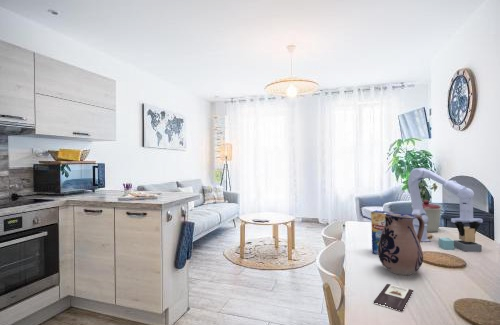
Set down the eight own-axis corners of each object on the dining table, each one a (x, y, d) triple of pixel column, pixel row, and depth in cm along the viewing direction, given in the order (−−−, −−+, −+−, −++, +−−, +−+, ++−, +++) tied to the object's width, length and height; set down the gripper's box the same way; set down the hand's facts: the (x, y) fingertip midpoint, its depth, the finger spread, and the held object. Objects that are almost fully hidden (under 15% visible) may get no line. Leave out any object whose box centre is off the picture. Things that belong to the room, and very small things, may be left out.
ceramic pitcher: (369, 267, 126) (368, 213, 126) (403, 260, 133) (401, 209, 133) (402, 282, 109) (401, 220, 109) (439, 274, 117) (437, 215, 117)
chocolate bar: (373, 301, 94) (387, 283, 108) (373, 304, 94) (387, 285, 108) (402, 310, 88) (413, 290, 102) (402, 313, 88) (413, 292, 102)
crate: (463, 251, 144) (463, 244, 144) (453, 246, 153) (453, 240, 153) (481, 251, 143) (481, 245, 143) (470, 246, 152) (470, 240, 152)
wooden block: (464, 241, 146) (464, 228, 146) (459, 239, 151) (458, 226, 151) (475, 241, 145) (474, 228, 145) (468, 239, 150) (468, 226, 150)
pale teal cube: (444, 249, 148) (443, 240, 148) (438, 246, 153) (438, 238, 153) (454, 249, 147) (453, 240, 147) (448, 247, 152) (448, 238, 152)
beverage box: (394, 258, 137) (393, 214, 137) (372, 253, 145) (371, 212, 145) (398, 254, 142) (397, 212, 142) (376, 250, 149) (375, 210, 149)
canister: (448, 234, 178) (447, 201, 178) (418, 233, 181) (417, 201, 181) (434, 227, 196) (434, 198, 196) (407, 227, 199) (406, 198, 199)
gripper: (456, 211, 145) (457, 237, 145) (486, 211, 143) (487, 237, 143) (448, 209, 152) (449, 234, 152) (477, 209, 150) (477, 234, 150)
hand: (467, 235), depth 148 cm, fingers closed on wooden block, 5 cm apart
